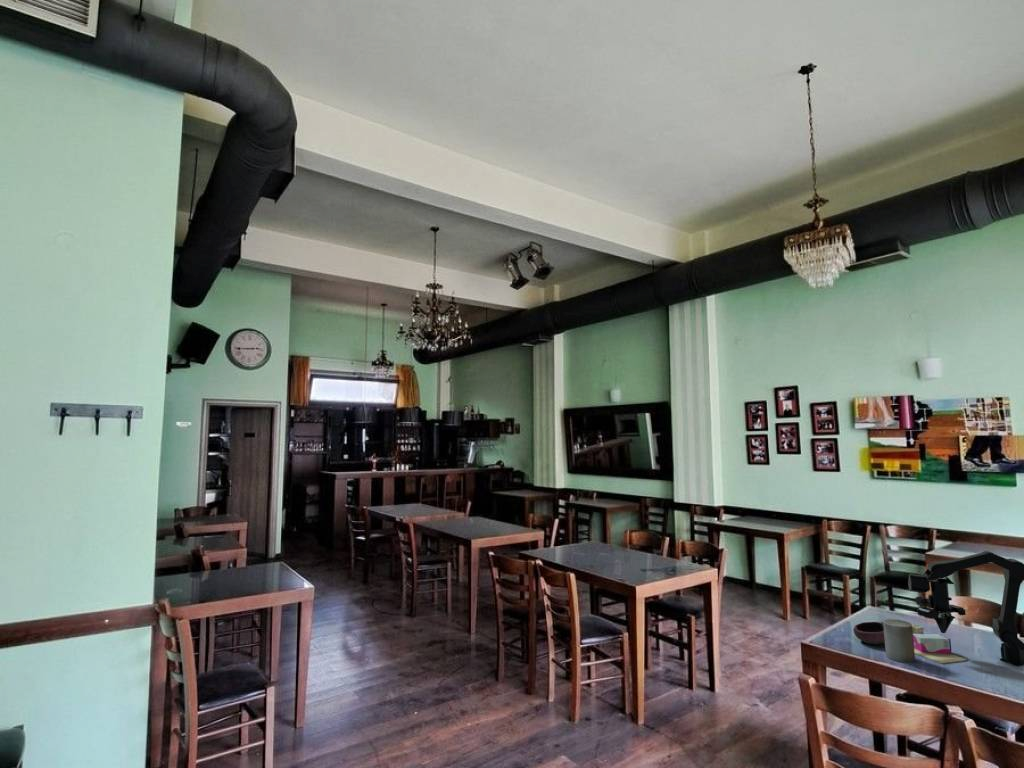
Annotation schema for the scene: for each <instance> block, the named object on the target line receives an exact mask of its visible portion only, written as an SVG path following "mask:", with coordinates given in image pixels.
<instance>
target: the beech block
mask: <svg viewBox="0 0 1024 768" xmlns="http://www.w3.org/2000/svg"><path fill="white" fill-rule="evenodd" d="M911 624H912V631H913V634H925V633H924V632H925V631H924V627H923V626H922V625H921V626H920V625H917V624H913V623H911Z"/></svg>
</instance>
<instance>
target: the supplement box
mask: <svg viewBox="0 0 1024 768" xmlns="http://www.w3.org/2000/svg"><path fill="white" fill-rule="evenodd" d="M913 641H914V648H915V649H917V650H919V651H920V652H924V653H950V654H953V653H952V652H953V651H952V643H951V641H952V640H951V638H949V637H947V636H945V635H943V634H942V633H941V634H940V633H939V634H937V633H936V634H934V633H924V634H913Z"/></svg>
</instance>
